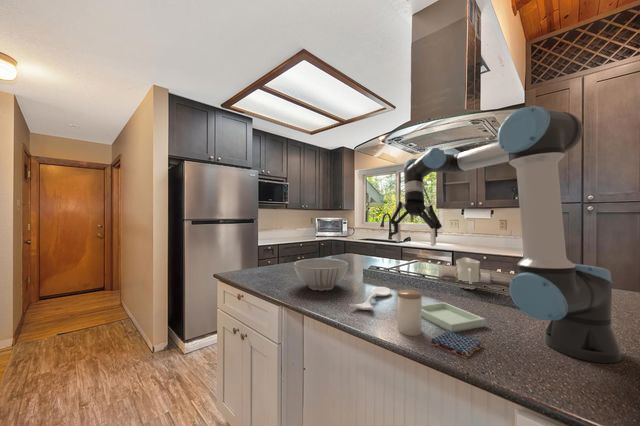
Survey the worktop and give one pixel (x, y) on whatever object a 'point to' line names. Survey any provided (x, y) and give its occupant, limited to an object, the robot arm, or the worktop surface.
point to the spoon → (374, 292)
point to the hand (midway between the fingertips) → (416, 243)
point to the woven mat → (456, 343)
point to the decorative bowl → (321, 272)
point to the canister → (409, 312)
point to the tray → (451, 317)
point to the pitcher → (467, 270)
